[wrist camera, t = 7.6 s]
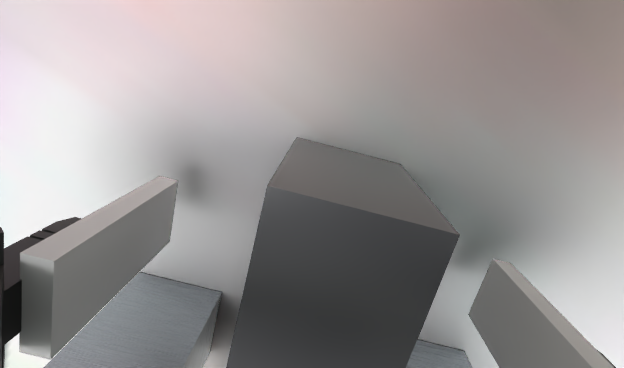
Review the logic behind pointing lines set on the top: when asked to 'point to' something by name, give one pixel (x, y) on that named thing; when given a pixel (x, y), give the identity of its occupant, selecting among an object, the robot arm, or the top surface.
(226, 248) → the top surface
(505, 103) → the top surface
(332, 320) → the grey and orange block
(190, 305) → the housing
